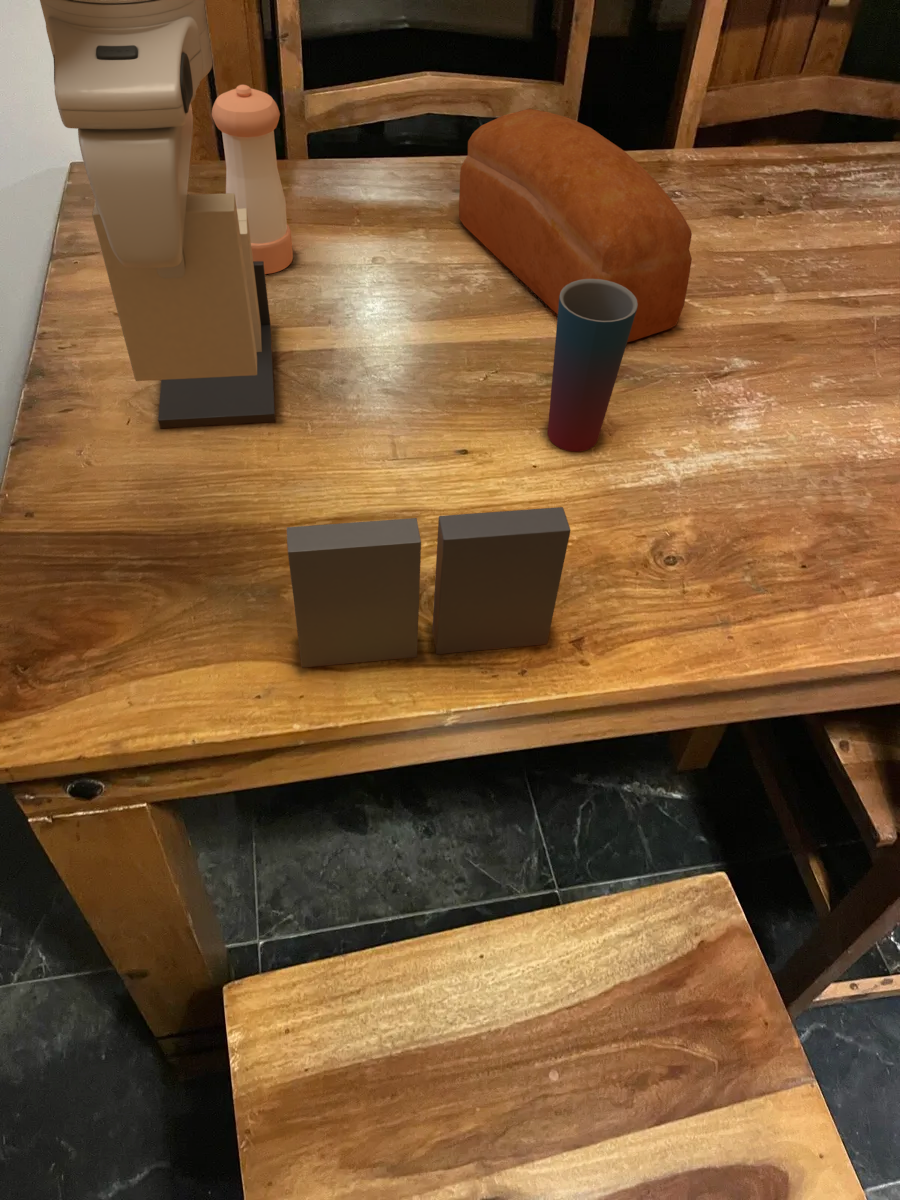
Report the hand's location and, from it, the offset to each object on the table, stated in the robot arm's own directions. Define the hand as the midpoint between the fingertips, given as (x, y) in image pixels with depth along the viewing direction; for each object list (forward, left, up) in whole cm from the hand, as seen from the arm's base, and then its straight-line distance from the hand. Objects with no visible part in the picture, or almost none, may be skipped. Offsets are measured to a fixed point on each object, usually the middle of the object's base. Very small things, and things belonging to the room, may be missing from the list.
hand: (174, 258), depth 64 cm
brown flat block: (0, 0, -9) cm, 9 cm away
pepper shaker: (-23, +37, -25) cm, 50 cm away
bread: (+8, +55, -25) cm, 61 cm away
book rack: (-13, +16, -24) cm, 32 cm away
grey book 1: (+18, -7, -24) cm, 31 cm away
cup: (+22, +27, -25) cm, 43 cm away
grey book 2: (+27, 0, -24) cm, 36 cm away
